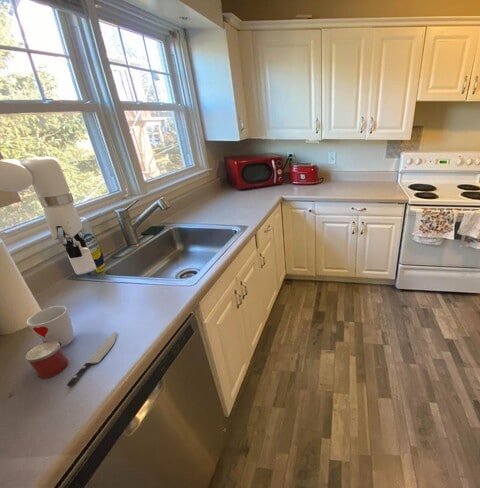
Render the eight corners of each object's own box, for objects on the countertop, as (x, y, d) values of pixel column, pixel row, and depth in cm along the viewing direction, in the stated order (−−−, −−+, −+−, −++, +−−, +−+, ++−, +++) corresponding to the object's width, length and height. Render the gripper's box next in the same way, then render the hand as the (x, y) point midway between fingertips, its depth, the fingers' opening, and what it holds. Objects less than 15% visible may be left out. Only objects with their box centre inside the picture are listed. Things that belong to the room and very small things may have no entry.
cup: (36, 348, 79) (19, 321, 75) (68, 329, 86) (54, 303, 82) (55, 356, 77) (38, 328, 72) (86, 335, 84) (73, 309, 79)
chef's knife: (125, 331, 85) (115, 331, 85) (124, 328, 85) (114, 328, 84) (79, 387, 68) (66, 387, 68) (77, 384, 67) (64, 384, 67)
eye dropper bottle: (94, 272, 94) (81, 240, 89) (73, 275, 92) (59, 242, 87) (98, 266, 98) (85, 235, 93) (78, 269, 96) (64, 237, 91)
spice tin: (32, 381, 69) (20, 363, 67) (44, 363, 75) (33, 344, 72) (63, 373, 72) (52, 355, 69) (73, 356, 77) (63, 338, 74)
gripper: (53, 194, 90) (74, 245, 98) (26, 209, 76) (53, 267, 84) (82, 192, 93) (100, 242, 100) (60, 206, 79) (84, 263, 86)
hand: (78, 253), depth 92 cm, fingers closed on eye dropper bottle, 4 cm apart
